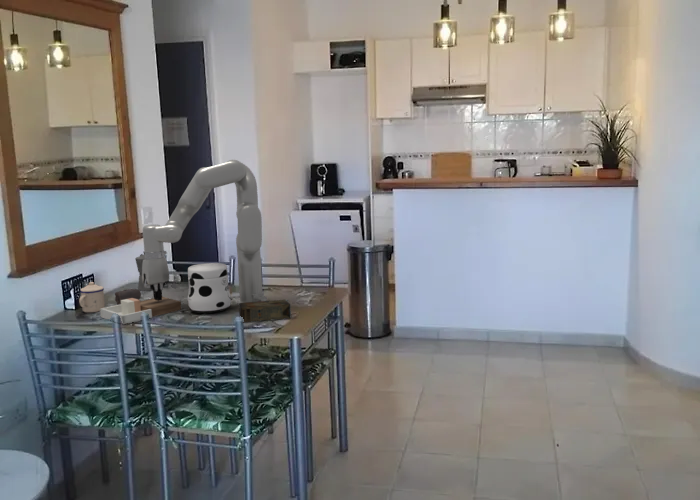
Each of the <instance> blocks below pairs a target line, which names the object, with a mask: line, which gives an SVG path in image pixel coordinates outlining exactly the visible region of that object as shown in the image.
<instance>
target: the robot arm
mask: <svg viewBox="0 0 700 500" xmlns="http://www.w3.org/2000/svg"><path fill="white" fill-rule="evenodd" d="M229 184H234V185H235V188H236V191H235V192H236V215H235V216H236V218H237V234H236V238H235V241H236V257H237V271H238V290H239V298H238V299H237V300H235V303H236V305H238V306H239V304H240V303H244V302H259V301H268V300H267V299H268V297H267V296H265V294H264V292H263V279H262V278H263V276H262V257H261V247H262V245H263V244H262V243H263V232H262V231H263V229H262V228H263V222H262V212H261V210H260V208H259V199H258V198H259V196H258V185H257V179H256V176H255V175H254V173H253V172H252V170H251V169H250V168H249V167H248V166H247V165H246V164H245V163H244V162H241V161H239V160H238V159H229V160H227V161H226V162H222V163H219V164H216V165H212V166H211V165H210V166H208V167H207V166H205V167H200V168H199V169H198V170H197V171H196V172H195V174H194V176H193V177H192V179H191V181H190V182H189V184H188V185H187V187H186V189H185V190H184V192H183V193H182V195H181V197H180V199H179V200H178V203H177V205H176V207H175V209H174V210H173V211H172V213H171V215H170V217H169V218H168V220H167V221H166V223H165V225H160V224H148V225H144V226H143V227H142V238H143V239H142V240H143V250H144V251H143V252H144V253H145V260H143V264H142V281H143V283H145V284H144V287H145V288H150V289H152V290H151V291H152V293H153V294H152V295H153V299H155V300H157V301H159V300H162V297H163V290H164V288H165V286H166V285H168V284H170V269H169V264H168V261H167V258H166V256H165V255H167V253H168V252H167V250H165V249H164V248H165V247H164V243H167V244H168V243H169V244H174V243H177V242H179V241H180V240H181V238H182V235H183V232H184V230H185V229H186V228H187V226H188V224H189V223H190V221H191V219H192V218H193V217H194V215H196V214H197V212H198V211H199V210H200V209H201V208H202V205H203V204H204V202H205V201H206V199H207V197H208V196H209V194H210V192H211V191H212V189H215V188H219V187H223V186H226V185H229ZM144 253H143V254H144Z"/></svg>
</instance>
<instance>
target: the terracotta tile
mask: <svg viewBox="0 0 700 500" xmlns="http://www.w3.org/2000/svg"><path fill="white" fill-rule="evenodd" d="M128 300H131V301H134V307H135V312H139V311H141V307H140V301H141V300H140V299H139V300H138V299H134V298H129V299H128Z"/></svg>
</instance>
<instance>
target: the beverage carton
mask: <svg viewBox="0 0 700 500" xmlns="http://www.w3.org/2000/svg"><path fill="white" fill-rule="evenodd" d="M238 307H239V308H238V311H239V312H238V313H239V317H240V316H241V317H243V319H244V322H243V323H252V322H251V321H255V322H261V321H260V320H266V321H272V320H271V319H277V320H285V319H284V318H288V319H291V315H292V311H291V303H290V302H289V300H288V299H287V298H286V299H279V300H276V299H275V300H267V301H259V302H244V303H240V304H239V305H238Z"/></svg>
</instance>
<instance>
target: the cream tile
mask: <svg viewBox="0 0 700 500" xmlns="http://www.w3.org/2000/svg"><path fill="white" fill-rule="evenodd" d="M121 310H122V315H126V314H130V313H135V307H134V301H131V300H128V299H125V300H121Z"/></svg>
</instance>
